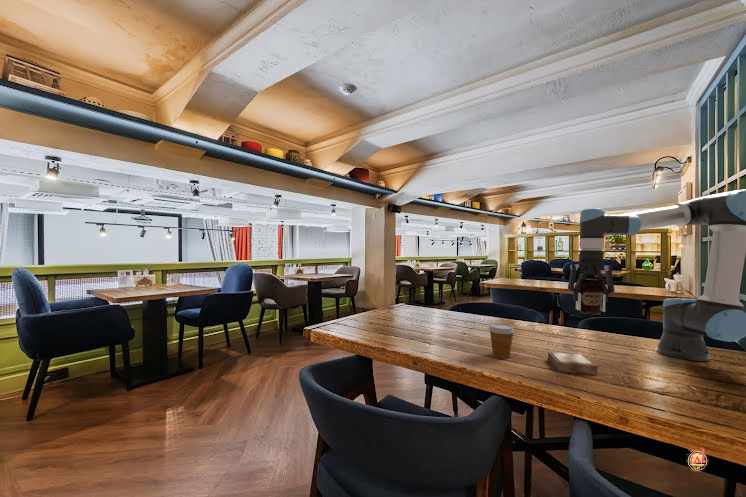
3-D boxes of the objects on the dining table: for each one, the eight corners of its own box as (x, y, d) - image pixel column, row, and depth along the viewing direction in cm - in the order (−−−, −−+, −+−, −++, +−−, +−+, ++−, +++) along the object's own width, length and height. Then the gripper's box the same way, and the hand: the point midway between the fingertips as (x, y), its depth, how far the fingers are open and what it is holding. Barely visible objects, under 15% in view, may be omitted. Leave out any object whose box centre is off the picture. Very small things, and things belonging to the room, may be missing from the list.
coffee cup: (608, 316, 114) (609, 280, 114) (583, 315, 116) (583, 279, 116) (597, 311, 122) (597, 278, 122) (573, 310, 124) (574, 277, 124)
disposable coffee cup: (514, 354, 129) (514, 324, 129) (514, 361, 120) (514, 330, 120) (489, 350, 133) (489, 322, 133) (487, 357, 124) (487, 327, 124)
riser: (583, 362, 119) (583, 353, 119) (597, 374, 108) (597, 365, 108) (548, 359, 122) (548, 351, 122) (558, 371, 111) (558, 361, 111)
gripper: (617, 250, 120) (616, 310, 120) (558, 249, 125) (557, 306, 125) (627, 250, 113) (626, 314, 113) (564, 249, 118) (563, 310, 118)
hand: (590, 310), depth 119 cm, fingers closed on coffee cup, 7 cm apart
